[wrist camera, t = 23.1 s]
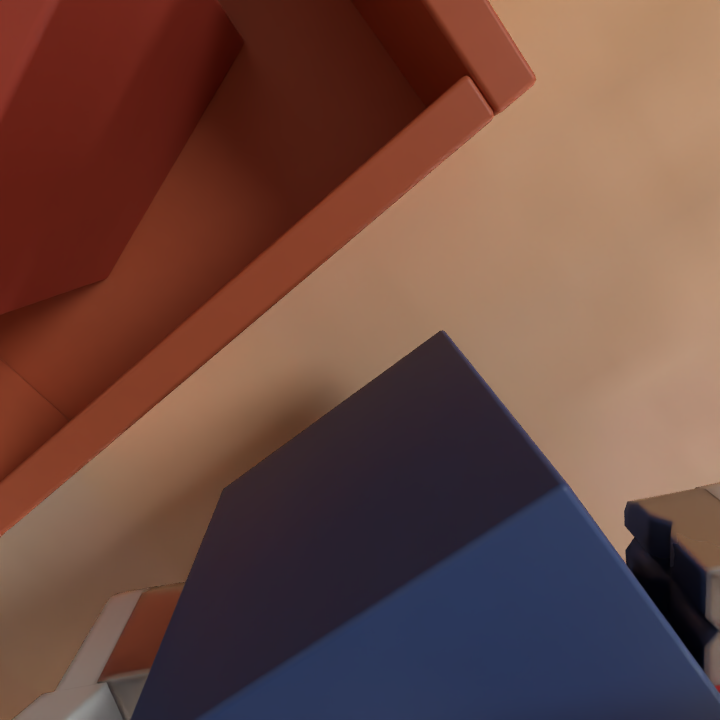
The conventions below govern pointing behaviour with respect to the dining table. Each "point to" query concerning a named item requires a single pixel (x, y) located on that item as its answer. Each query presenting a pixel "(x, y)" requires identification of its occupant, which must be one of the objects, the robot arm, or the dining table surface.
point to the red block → (94, 127)
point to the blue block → (416, 578)
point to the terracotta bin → (248, 211)
